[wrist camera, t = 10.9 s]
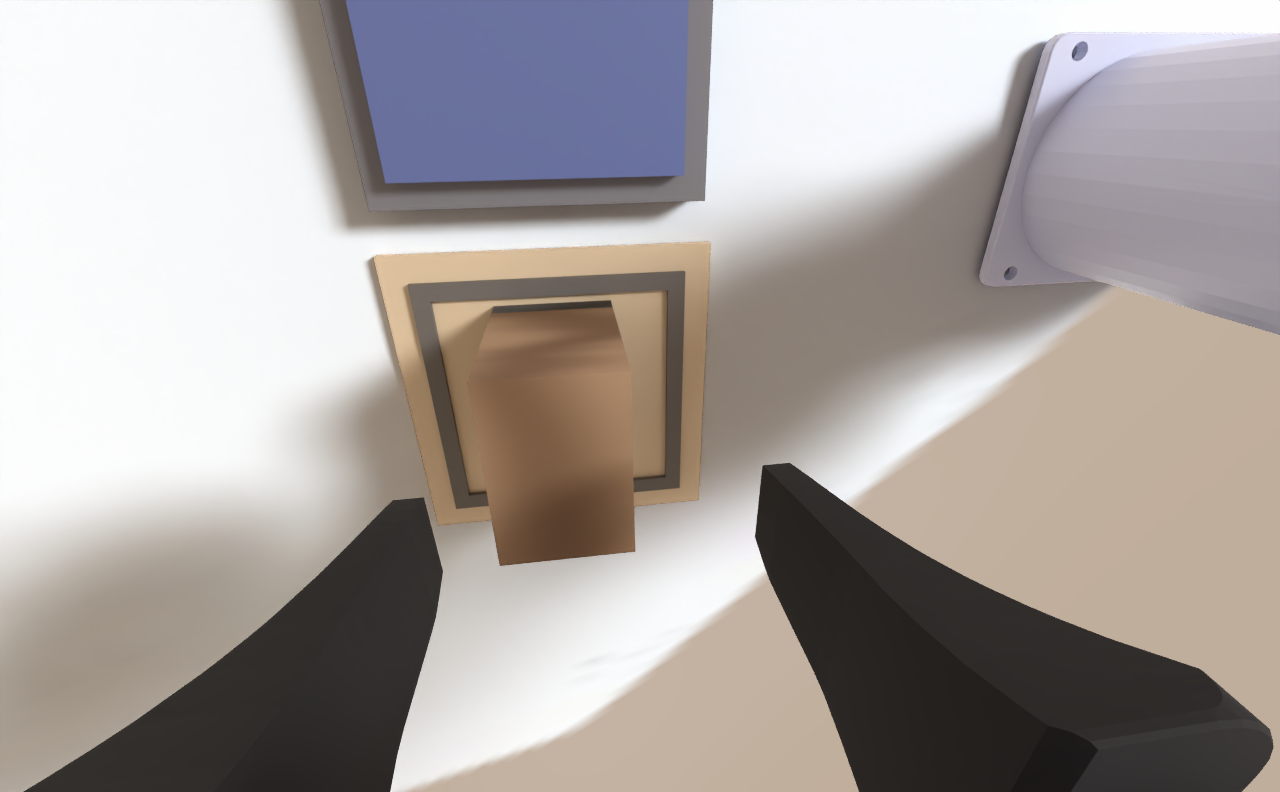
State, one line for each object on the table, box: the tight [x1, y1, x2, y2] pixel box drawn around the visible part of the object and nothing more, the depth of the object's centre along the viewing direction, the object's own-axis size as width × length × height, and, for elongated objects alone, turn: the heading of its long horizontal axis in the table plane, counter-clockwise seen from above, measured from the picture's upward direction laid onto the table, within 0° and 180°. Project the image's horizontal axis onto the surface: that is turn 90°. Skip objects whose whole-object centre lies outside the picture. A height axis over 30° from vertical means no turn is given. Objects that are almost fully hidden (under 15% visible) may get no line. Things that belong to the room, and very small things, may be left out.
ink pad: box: [319, 0, 713, 211], centre depth 14 cm, size 10×10×2 cm
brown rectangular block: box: [467, 300, 635, 566], centre depth 17 cm, size 4×6×6 cm, turn 1°
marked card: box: [373, 242, 711, 525], centre depth 20 cm, size 11×11×1 cm
